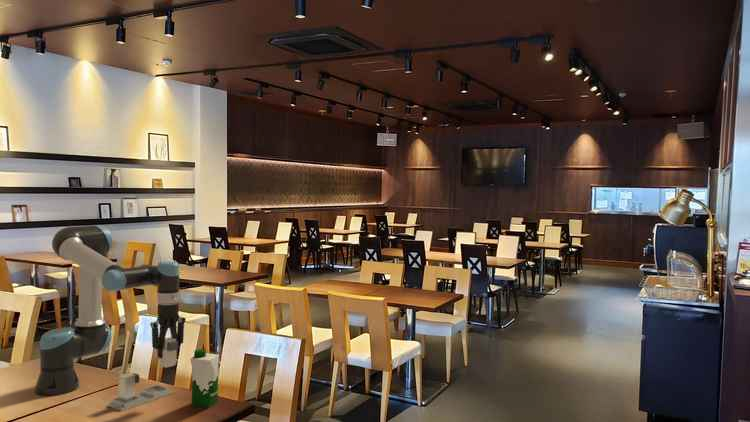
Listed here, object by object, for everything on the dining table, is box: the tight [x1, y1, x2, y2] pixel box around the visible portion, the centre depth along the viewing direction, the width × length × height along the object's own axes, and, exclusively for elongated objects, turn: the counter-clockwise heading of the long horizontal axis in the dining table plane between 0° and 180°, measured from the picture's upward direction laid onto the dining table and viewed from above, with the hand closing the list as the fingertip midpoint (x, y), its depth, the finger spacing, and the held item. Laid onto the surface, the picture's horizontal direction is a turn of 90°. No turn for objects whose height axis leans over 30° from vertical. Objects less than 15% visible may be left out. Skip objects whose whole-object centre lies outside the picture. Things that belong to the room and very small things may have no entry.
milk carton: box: [190, 348, 220, 409], centre depth 208 cm, size 9×9×20 cm
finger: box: [163, 336, 179, 368], centre depth 208 cm, size 6×4×10 cm, turn 52°
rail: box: [107, 372, 173, 412], centre depth 212 cm, size 8×22×11 cm, turn 147°
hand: (167, 364), depth 209 cm, fingers closed on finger, 4 cm apart
